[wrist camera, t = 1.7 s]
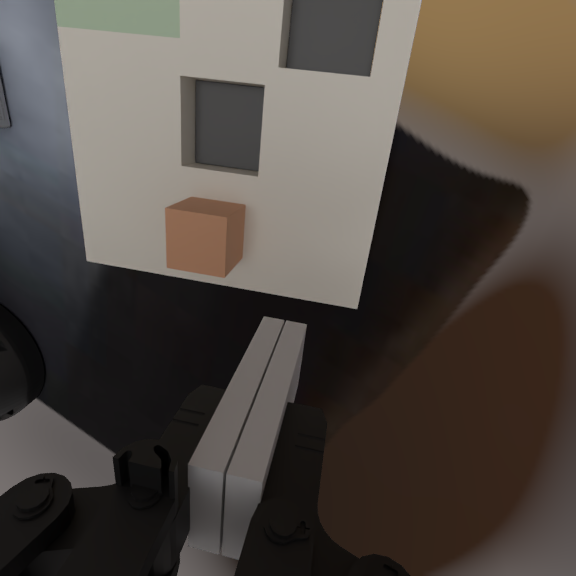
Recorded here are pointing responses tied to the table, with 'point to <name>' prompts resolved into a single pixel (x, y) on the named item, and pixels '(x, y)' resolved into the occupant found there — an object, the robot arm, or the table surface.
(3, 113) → the skincare box
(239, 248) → the block
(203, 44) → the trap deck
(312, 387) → the table surface
